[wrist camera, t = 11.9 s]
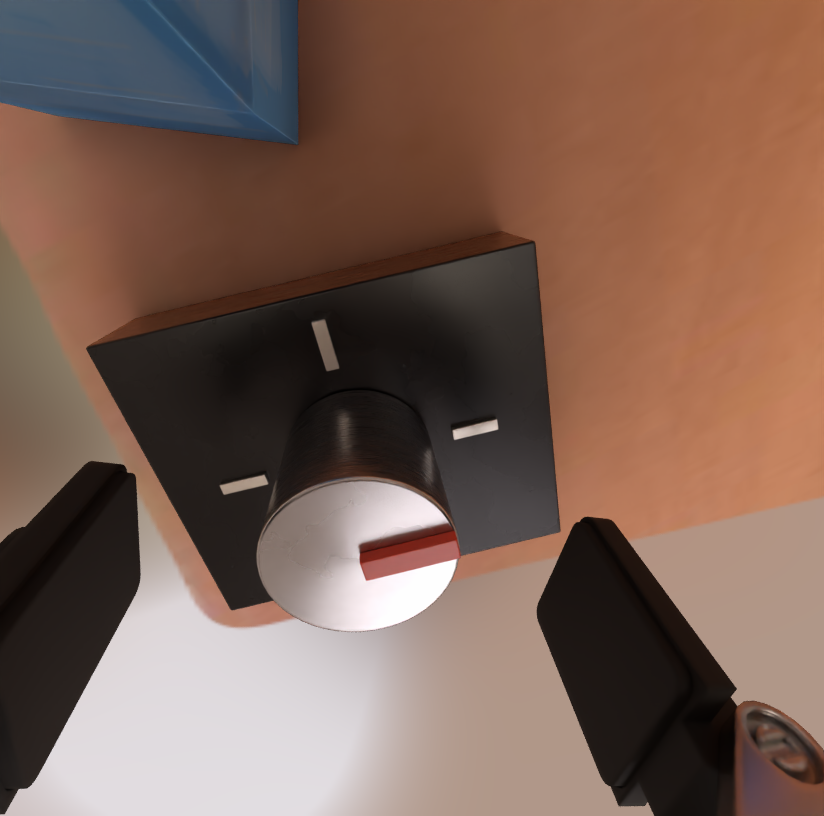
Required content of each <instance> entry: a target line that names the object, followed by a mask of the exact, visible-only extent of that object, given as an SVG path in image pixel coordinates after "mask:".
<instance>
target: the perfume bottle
mask: <svg viewBox="0 0 824 816" xmlns="http://www.w3.org/2000/svg"><path fill="white" fill-rule="evenodd" d="M0 102H1V103H5V104H10V105H14V106H18V107H22V108H26V109H31V110H35V111H39V112H43V113H48V114H52V115H56V116H62V117H70V118H78V119H87V120H95V121H103V122H112V123H120V124H128V125H137V126H145V127H153V128H162V129H170V130H178V131H187V132H195V133H203V134H212V135H220V136H228V137H237V138H245V139H253V140H262V141H270V142H278V143H287V144H295V145H298V0H0Z"/></svg>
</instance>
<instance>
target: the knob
mask: <svg viewBox="0 0 824 816" xmlns="http://www.w3.org/2000/svg"><path fill="white" fill-rule="evenodd" d="M459 558H461V554H460V549H459V540H458V534H457V531H456V527H455V524H454V520H453V517H452V513H451V510H450V506H449V503H448V499H447V496H446V492H445V489H444V485H443V482H442V478H441V475H440V471H439V468H438V464H437V461H436V457H435V454H434V450H433V447H432V444H431V440H430V437H429V434H428V431H427V429H426V427H425V425H424V423H423V422H422V420H421V419H420V417H419V416H418V415H417V414H416V413H415V412H414V411H413V410H412V409H411V408H410V407H408V406H407V405H406V404H404V403H403V402H401V401H400V400H398V399H396V398H394V397H391V396H389V395H386V394H383V393H379V392H374V391H366V390H353V391H345V392H340V393H336V394H333V395H330V396H328V397H325V398H323V399H321V400H319V401H318V402H316V403H314V404H313V405H311V406H310V407H309V408H308V409H307V410H305V411H304V412H303V413H302V415H301V416H300V417H299V418H298V419H297V421H296V422H295V424H294V425H293V427H292V429H291V431H290V433H289V436H288V439H287V442H286V446H285V450H284V453H283V457H282V460H281V464H280V467H279V471H278V474H277V478H276V481H275V485H274V489H273V492H272V496H271V499H270V503H269V506H268V510H267V513H266V517H265V520H264V524H263V528H262V531H261V535H260V538H259V542H258V547H257V567H258V571H259V575H260V578H261V580H262V583H263V585H264V587H265V589H266V590H267V592H268V594H269V595H270V596H271V598H272V599H273V600H274V601H275V602H276V603H277V604H278V605H279V606H280V607H281V608H282V609H283V610H285V611H286V612H288V613H289V614H290V615H292V616H293V617H295V618H297V619H299V620H301V621H303V622H305V623H308V624H311V625H313V626H316V627H320V628H324V629H328V630H334V631H344V632H364V631H373V630H377V629H383V628H387V627H390V626H394V625H397V624H399V623H402V622H404V621H407V620H409V619H411V618H413V617H414V616H416V615H418V614H420V613H421V612H423V611H424V610H426V609H427V608H428V607H429V606H431V605H432V604H433V603H434V602H435V601H436V600H437V599H438V598H439V597H440V596H441V595H442V594H443V592H444V591H445V590H446V588H447V587H448V586H449V584H450V582H451V580H452V578H453V576H454V573H455V571H456V568H457V564H458V559H459Z"/></svg>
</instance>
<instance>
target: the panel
mask: <svg viewBox="0 0 824 816" xmlns="http://www.w3.org/2000/svg"><path fill="white" fill-rule="evenodd" d="M86 349H87V351H88V353H89V355H90V357H91V359H92V360H93V362H94V364H95V366H96V368H97V369H98V371H99V373H100V375H101V377H102V379H103V380H104V382H105V384H106V386H107V388H108V389H109V391H110V393H111V395H112V397H113V398H114V400H115V402H116V404H117V406H118V407H119V409H120V411H121V413H122V415H123V416H124V418H125V420H126V422H127V424H128V425H129V427H130V429H131V431H132V433H133V434H134V436H135V438H136V440H137V442H138V443H139V445H140V447H141V449H142V451H143V452H144V454H145V456H146V458H147V460H148V462H149V463H150V465H151V467H152V469H153V471H154V472H155V474H156V476H157V478H158V480H159V481H160V483H161V485H162V487H163V489H164V490H165V492H166V494H167V496H168V498H169V499H170V501H171V503H172V505H173V507H174V508H175V510H176V512H177V514H178V516H179V517H180V519H181V521H182V523H183V525H184V526H185V528H186V530H187V532H188V534H189V535H190V537H191V539H192V541H193V543H194V544H195V546H196V548H197V550H198V552H199V554H200V555H201V557H202V559H203V561H204V563H205V564H206V566H207V568H208V570H209V572H210V573H211V575H212V577H213V579H214V581H215V582H216V584H217V586H218V588H219V590H220V591H221V593H222V595H223V597H224V599H225V600H226V602H227V604H228V606H229V608H230V609H231V610H236V609H240V608H245V607H249V606H253V605H257V604H261V603H266V602H270V601H274V600H273V599H272V598H271V596H270V595H269V594H268V592H267V590H266V589H265V587H264V585H263V583H262V580H261V578H260V575H259V571H258V567H257V547H258V542H259V538H260V535H261V531H262V528H263V524H264V520H265V517H266V513H267V510H268V506H269V503H270V499H271V496H272V492H273V489H274V485H275V481H276V478H277V474H278V471H279V467H280V464H281V460H282V457H283V453H284V450H285V446H286V442H287V439H288V436H289V433H290V431H291V429H292V427H293V425H294V424H295V422H296V421H297V419H298V418H299V417H300V416H301V415H302V413H303V412H304V411H305V410H307V409H308V408H309V407H310V406H311V405H313V404H314V403H316V402H318V401H319V400H321V399H323V398H325V397H328V396H330V395H333V394H336V393H340V392H345V391H353V390H366V391H374V392H379V393H383V394H386V395H389V396H391V397H394V398H396V399H398V400H400V401H401V402H403V403H404V404H406V405H407V406H408V407H410V408H411V409H412V410H413V411H414V412H415V413H416V414H417V415H418V416H419V417H420V419H421V420H422V422H423V423H424V425H425V427H426V429H427V431H428V434H429V437H430V440H431V444H432V447H433V450H434V454H435V457H436V461H437V464H438V468H439V471H440V475H441V478H442V482H443V485H444V489H445V492H446V496H447V499H448V503H449V506H450V510H451V513H452V517H453V520H454V524H455V527H456V531H457V534H458V540H459V549H460V554H461V556H462V555H466V554H471V553H475V552H479V551H483V550H487V549H492V548H496V547H500V546H504V545H508V544H513V543H517V542H521V541H525V540H529V539H533V538H538V537H542V536H546V535H550V534H554V533H559V532H560V519H559V508H558V496H557V485H556V474H555V462H554V451H553V439H552V428H551V416H550V405H549V393H548V382H547V371H546V359H545V348H544V336H543V325H542V313H541V302H540V290H539V279H538V267H537V256H536V245H535V241H532V240H529V239H525V238H522V237H519V236H516V235H512V234H509V233H506V232H498V233H494V234H489V235H485V236H481V237H477V238H473V239H468V240H464V241H460V242H456V243H451V244H447V245H443V246H439V247H435V248H430V249H426V250H422V251H418V252H413V253H409V254H405V255H401V256H397V257H392V258H388V259H384V260H380V261H376V262H371V263H367V264H363V265H359V266H354V267H350V268H346V269H342V270H338V271H333V272H329V273H325V274H321V275H316V276H312V277H308V278H304V279H300V280H295V281H291V282H287V283H283V284H278V285H274V286H270V287H266V288H262V289H257V290H253V291H249V292H245V293H241V294H236V295H232V296H228V297H224V298H219V299H215V300H211V301H207V302H203V303H198V304H194V305H190V306H186V307H181V308H177V309H173V310H169V311H165V312H160V313H156V314H152V315H148V316H144V317H139V318H135V319H134V320H132V321H130V322H129V323H127V324H125V325H123V326H122V327H120V328H118V329H117V330H115V331H113V332H112V333H110V334H108V335H106V336H105V337H103V338H101V339H100V340H98V341H96V342H94V343H93V344H91V345H89V346H88V347H87V348H86Z"/></svg>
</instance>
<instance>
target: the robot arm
mask: <svg viewBox="0 0 824 816" xmlns="http://www.w3.org/2000/svg"><path fill="white" fill-rule="evenodd" d="M139 583H140V553H139V531H138V511H137V489H136V477H135V475H134V474H133V473H127V469H126V467H125V466H124V465H122V464H113V463H103V462H95V461H90V462H88V463H87V464H85V465H84V466H83V467H82V468H81V469H80V470H79V471H78V472H77V473H76V474H75V475H74V477H73V478H72V479H71V480H70V481H69V482H68V483H67V484H66V485H65V486H64V487H63V488H62V489H61V490H60V491H59V492H58V493H57V494H56V495H55V496H54V497H53V498H52V499H51V500H50V502H49V503H48V504H47V505H46V506H45V507H44V508H43V509H42V510H41V511H40V512H39V513H38V514H37V515H36V516H35V517H34V518H33V519H32V521H30V523H28V525H27V526H26V527H21V528H19V529H16V530H14V531H13V532H12V533H11V534H9V535H8V536H7V537H6V538H5V539H4V540H3V541H2V542H1V543H0V814H5V812H6V811H7V809H8V807H9V805H10V803H11V802H12V800H13V798H14V796H15V794H16V793H17V791H18V789H25V788H28V787H30V786H31V785H32V783H33V782H34V781H35V779H36V778H37V776H38V775H39V773H40V771H41V769H42V767H43V765H44V764H45V762H46V760H47V758H48V756H49V754H50V752H51V751H52V749H53V747H54V745H55V743H56V741H57V739H58V738H59V736H60V734H61V732H62V730H63V728H64V726H65V725H66V723H67V721H68V719H69V717H70V715H71V713H72V712H73V710H74V708H75V706H76V704H77V702H78V700H79V699H80V697H81V695H82V693H83V691H84V689H85V687H86V686H87V684H88V682H89V680H90V678H91V676H92V674H93V673H94V671H95V669H96V667H97V665H98V663H99V661H100V660H101V658H102V656H103V654H104V652H105V650H106V648H107V646H108V645H109V643H110V641H111V639H112V637H113V635H114V634H115V632H116V630H117V628H118V626H119V624H120V622H121V620H122V619H123V617H124V615H125V613H126V611H127V609H128V607H129V606H130V604H131V602H132V600H133V598H134V596H135V594H136V592H137V590H138V586H139ZM537 619H538V622H539V624H540V627H541V629H542V632H543V634H544V637H545V639H546V642H547V644H548V647H549V649H550V652H551V654H552V657H553V659H554V662H555V664H556V667H557V669H558V671H559V674H560V677H561V679H562V682H563V684H564V686H565V689H566V692H567V694H568V696H569V699H570V701H571V704H572V706H573V709H574V711H575V714H576V716H577V719H578V721H579V724H580V726H581V729H582V731H583V734H584V736H585V739H586V741H587V743H588V746H589V748H590V751H591V754H592V756H593V758H594V761H595V763H596V766H597V768H598V771H599V773H600V776H601V778H602V779H603V781H604V782H605V784H607V785H608V786H611V788H612V791H613V793H614V795H615V798H616V801H617V803H618V805H619V806H645V805H646V803H647V802H648V803H649V805H650V808H651V810H652V812H653V814H654V816H824V750H823V748H822V747H821V746H820V745H819V744H818V743H817V742H816V740H814V738H813V737H812V736H811V735H810V734H809V733H808V732H807V731H806V730H805V729H804V728H803V727H802V726H800V725H799V724H798V723H797V722H796V721H795V720H793V719H792V718H790V717H788V716H787V715H786V714H784V713H783V712H781V711H779V710H778V709H775V708H774V707H771V706H769V705H767V704H764V703H760V702H757V701H744V702H743V703H741V704H740V705H739V706H737V705H736V704H735V702H734V701H733V700H732V698H731V696H732V694H733V693H734V692H735V691H736V689H737V688H736V687H735V686H734V684H733V683H732V682H731V680H730V679H729V678H728V676H727V675H726V674H725V672H724V671H723V670H722V668H721V667H720V665H719V664H718V663H717V661H716V660H715V659H714V657H713V656H712V655H711V653H710V652H709V650H708V649H707V648H706V646H705V645H704V644H703V642H702V641H701V640H700V639H699V637H698V636H697V634H696V633H695V631H694V630H693V629H692V627H691V626H690V625H689V624H688V622H687V621H686V619H685V618H684V617H683V615H682V614H681V613H680V611H679V610H678V608H677V607H676V606H675V604H674V603H673V602H672V600H671V599H670V598H669V596H668V595H667V594H666V592H665V591H664V590H663V588H662V587H661V585H660V584H659V583H658V582H657V580H656V579H655V577H654V576H653V575H652V573H651V572H650V571H649V569H648V568H647V566H646V565H645V564H644V562H643V561H642V560H641V558H640V557H639V556H638V554H637V553H636V552H635V550H634V549H633V547H632V546H631V545H630V543H629V542H628V541H627V539H626V538H625V537H624V535H623V534H622V533H621V531H620V530H619V529H618V527H617V526H616V524H615V523H614V522H613V521H612V520H609V519H603V518H594V517H584V518H583V519H581V521H580V522H577V523H575V524H574V526H573V528H572V530H571V532H570V534H569V536H568V539H567V541H566V543H565V545H564V547H563V550H562V552H561V554H560V556H559V558H558V561H557V563H556V565H555V568H554V570H553V572H552V574H551V576H550V578H549V581H548V583H547V585H546V587H545V589H544V592H543V594H542V596H541V598H540V600H539V603H538V606H537Z"/></svg>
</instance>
